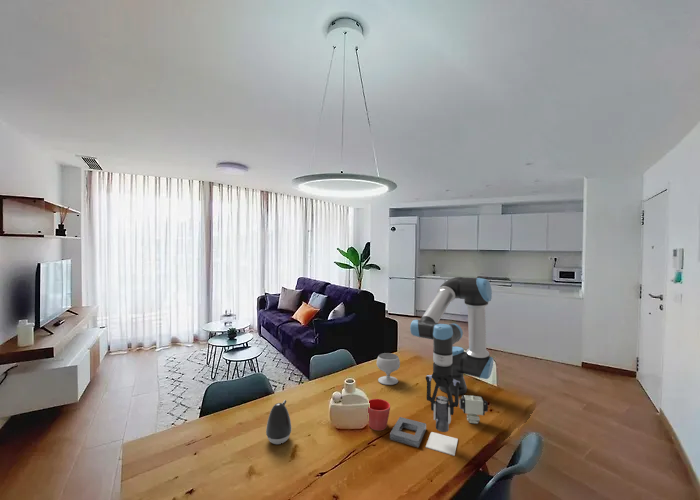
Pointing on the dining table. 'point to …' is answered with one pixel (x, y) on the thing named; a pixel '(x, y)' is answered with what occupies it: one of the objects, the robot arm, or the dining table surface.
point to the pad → (442, 443)
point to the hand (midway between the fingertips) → (442, 420)
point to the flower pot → (378, 414)
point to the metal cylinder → (442, 413)
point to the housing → (406, 437)
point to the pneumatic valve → (473, 407)
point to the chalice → (388, 367)
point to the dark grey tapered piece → (278, 424)
